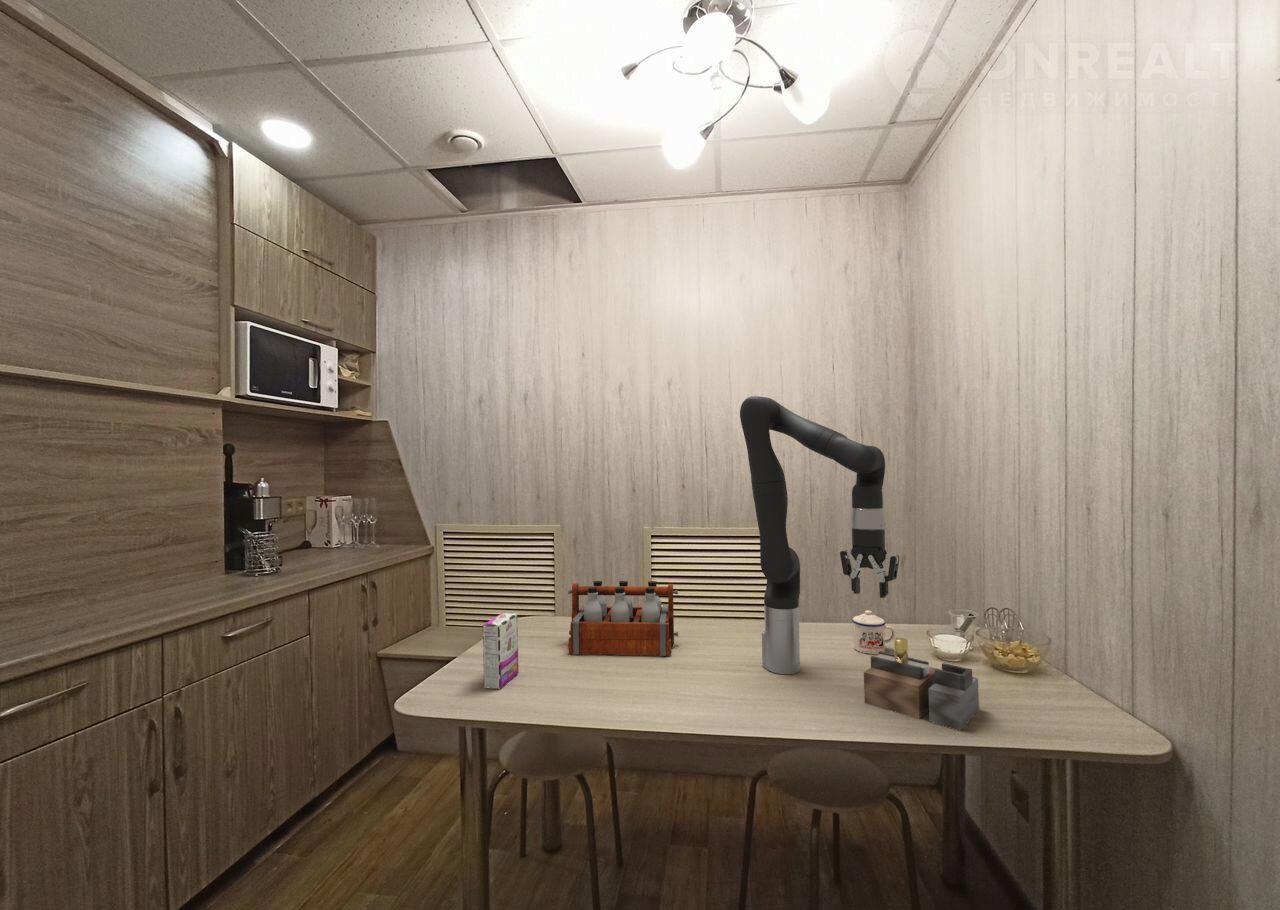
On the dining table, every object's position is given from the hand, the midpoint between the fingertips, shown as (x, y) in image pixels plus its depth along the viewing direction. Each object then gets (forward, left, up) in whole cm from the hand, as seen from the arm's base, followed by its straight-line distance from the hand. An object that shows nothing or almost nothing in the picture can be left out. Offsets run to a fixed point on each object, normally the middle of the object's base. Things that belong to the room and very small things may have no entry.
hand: (869, 595), depth 132 cm
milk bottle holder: (-71, -17, -24) cm, 77 cm away
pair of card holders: (+12, 0, -24) cm, 26 cm away
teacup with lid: (-12, +31, -24) cm, 41 cm away
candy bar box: (-73, -59, -24) cm, 97 cm away
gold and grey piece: (+6, 0, -17) cm, 18 cm away
